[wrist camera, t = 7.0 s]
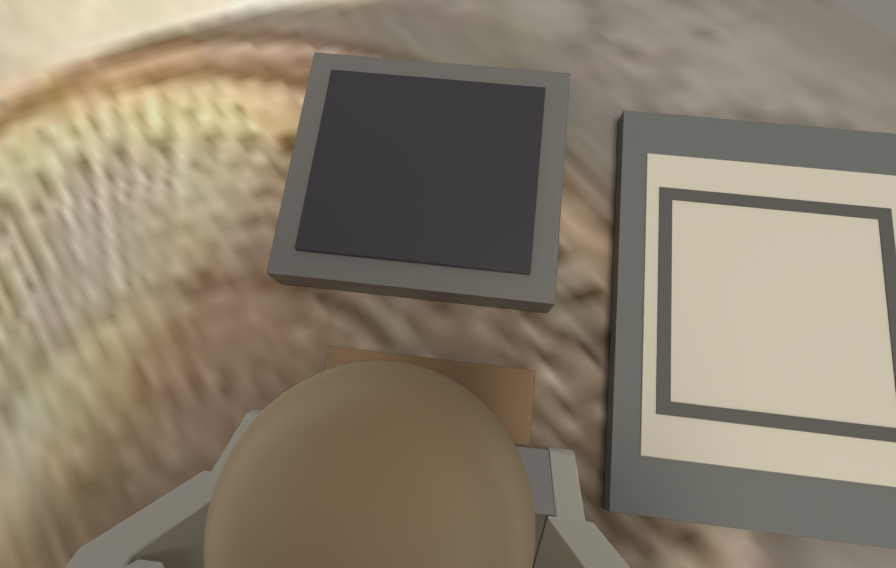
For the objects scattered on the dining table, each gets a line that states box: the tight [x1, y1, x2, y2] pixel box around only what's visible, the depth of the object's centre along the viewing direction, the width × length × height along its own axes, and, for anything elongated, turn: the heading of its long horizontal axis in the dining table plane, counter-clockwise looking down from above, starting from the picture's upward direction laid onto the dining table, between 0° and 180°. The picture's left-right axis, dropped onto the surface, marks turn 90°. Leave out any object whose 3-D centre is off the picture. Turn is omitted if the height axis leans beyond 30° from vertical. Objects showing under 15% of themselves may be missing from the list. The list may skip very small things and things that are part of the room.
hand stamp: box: [203, 346, 536, 568], centre depth 11 cm, size 6×6×13 cm
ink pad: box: [266, 52, 570, 313], centre depth 21 cm, size 11×10×2 cm
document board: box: [604, 111, 896, 549], centre depth 20 cm, size 12×16×1 cm
